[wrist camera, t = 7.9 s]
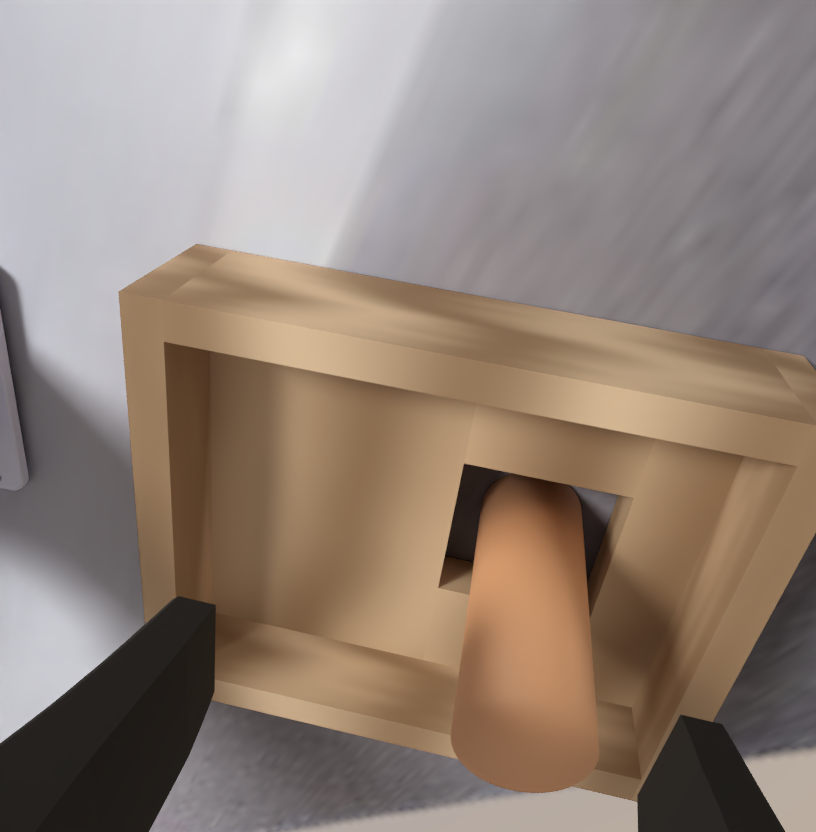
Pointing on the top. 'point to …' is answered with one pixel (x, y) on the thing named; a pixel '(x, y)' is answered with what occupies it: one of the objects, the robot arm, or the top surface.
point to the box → (450, 489)
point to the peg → (527, 643)
